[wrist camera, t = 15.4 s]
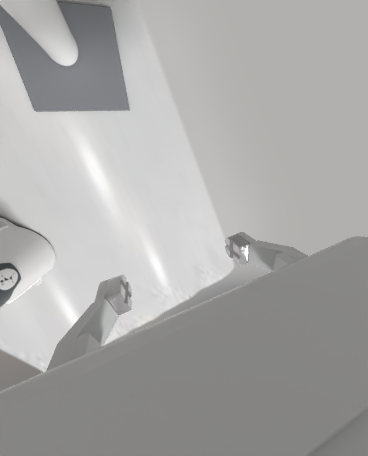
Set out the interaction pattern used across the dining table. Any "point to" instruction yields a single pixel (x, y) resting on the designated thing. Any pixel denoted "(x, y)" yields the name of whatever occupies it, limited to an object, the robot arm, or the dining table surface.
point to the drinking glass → (45, 27)
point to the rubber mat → (78, 72)
